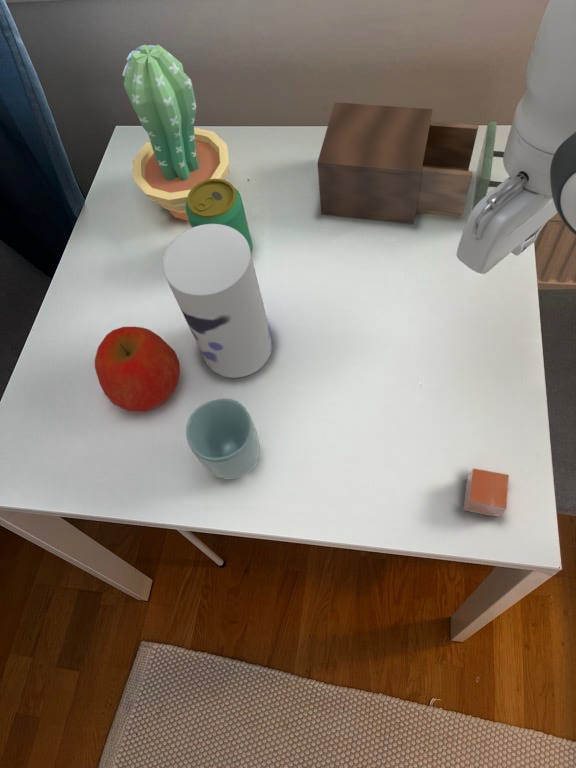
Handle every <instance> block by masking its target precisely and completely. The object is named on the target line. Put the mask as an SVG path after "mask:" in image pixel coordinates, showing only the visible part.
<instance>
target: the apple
mask: <svg viewBox="0 0 576 768" xmlns="http://www.w3.org/2000/svg"><path fill="white" fill-rule="evenodd" d="M180 364H181V363H180V360H179V358H178V355H177V352H176V351H175V349H173V348H172V347H171V346H170V344H169V343H167V342H166V341H165V340H164V339H163V338H162V337H161V336H160V335H159V334H157V333H155V332H154V331H152V330H151V329H148V328H145V327H142V326H121V327H119V328H115V329H112V330H111V331H109V332H108V333H107V334H106V335H105V336H104V338H103V339H102V341H101V342H100V344H99V345H98V346H97V350H96V354H95V358H94V369H95V373H96V377H97V379H98V383H99V385H100V388H101V390H102V392H103V394H104V396H106V398H108V400H109V401H110V402H111V403H112V404H113V405H114V406H117V407H119V408H120V409H123V410H125V411H128V412H135V413H136V412H139V413H145V412H148V411H151V410H154V409H156V408H158V407H161V406H162V405H163V404H164V403H166V401H167V400H168V399H169V398H170V397H171V396H172V395H173V394H174V393H175V391H176V389H177V388H178V387H177V386H178V383H179V382H178V381H179V377H180V373H181V366H180Z"/></svg>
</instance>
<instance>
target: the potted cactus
mask: <svg viewBox="0 0 576 768" xmlns="http://www.w3.org/2000/svg"><path fill="white" fill-rule="evenodd" d="M125 60H126V61H127V62H126V64H125V66H124V68H123V71H122V77H124V81H123V87H124V89H125V93H126V94H127V96H128V99H129V101H130V103H131V105H132V107H133V110H134V113H136V115H137V118H138V120H139V122H140V124H141V127H142V128H143V129H144V131H145V132H146V134H147V136H148V139H149V140H148V141H147V142H145V143H144V144H143V146H142V147H141V149H140V150H139V152H138V153H137V154H136V156H135V157H134V159H133V160H132V180H133V181H134V183H135V184H136V185H137V187H138V188H139V189H140V190H141V192H143V193H144V194H145V196H147V197H148V199H149V200H150V201H154V202H156V203H158V204H159V205H160V206H161V207H162V208H163V209H166V210H168V211H169V212H170V214H171V215H172V216H173V217H174V218H176V219H180V220H184V221H186V222H187V221H188V222H189V219H188V216H187V214H186V209H185V207H186V202H187V197H188V194H189V192H190V191H191V189H192V188H193V187H194V186H195V185H197V184H198V183H200V182H202V181H205V180H208V179H222V180H225V178H226V176H227V175H228V173H229V172H230V159H229V151H228V150H229V148H228V147H229V146H228V144H227V143H226V142H225V141H224V140H223V139H222V138H221V137H220V136H219V135H217V134H216V132H215V131H213V130H208V129H204V128H199V127H195V120H196V115H197V109H198V108H197V102H196V97H195V91H194V87H193V81H192V79H191V78H190V77H189V76H188V74H186V73H185V70H184V66H183V63H181V62H180V61H179V59H177V58H176V57H175V56H174V55H172V54H171V53H170V52H169V51H167V49H165V48H164V47H162V46H161V45H160V44H157V43H156V44H155V45H153V44H149V45H147V44H142V45H140V46H137V47H136V48H135V50H132V51H131V52H129V54H128V56H127V57H126V59H125Z"/></svg>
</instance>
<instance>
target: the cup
mask: <svg viewBox="0 0 576 768" xmlns="http://www.w3.org/2000/svg"><path fill="white" fill-rule="evenodd" d="M185 435H186V440H187V444H188V447H189V448H190V450H191V452H192V454H193V455H194V456H195V459H197V461H198V462H199V463H200V464H201V465H202V467H203V468H204V469H205V470H206V471H207V472H209V473H210V474H211V475H212V476H214V477H216V478H219V479H222V480H223V479H224V480H234V479H239V478H241V477H245V476H246V475H248V474H249V473H251V471H253V470H254V468H255V467H256V466H257V464H258V461H259V458H260V451H261V449H260V448H261V446H260V440H259V439H260V438H259V435H258V432H257V429H256V426H255V424H254V421H253V418H252V416H251V415H250V412H249V411H248V409H247V408H246V407H245V406H244V405H243V404H242V403H241V402H239V401H238V400H235V399H232V398H226V397H224V398H223V397H222V398H215V399H210V400H208V401H206V402H203V403H202V404H200V405H199V406H197V407H196V408H195V409H194V410H193V411H192V413H190V415H189V417H188V419H187V421H186V429H185Z"/></svg>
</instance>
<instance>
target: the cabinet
mask: <svg viewBox="0 0 576 768" xmlns="http://www.w3.org/2000/svg"><path fill="white" fill-rule="evenodd" d="M432 116H433V108H424V107H408V106H395V105H381V104H380V105H379V104H365V103H353V102H351V103H350V102H338V101H334V103H333V106H332V110H331V114H330V117H329V120H328V124H327V127H326V131H325V135H324V138H323V141H322V145H321V148H320V151H319V155H318V159H317V162H316V163H317V176H318V189H319V203H320V215H321V216H329V217H331V216H332V217H340V218H348V219H358V220H368V221H377V222H385V223H393V224H394V223H396V224H405V225H415V222H416V216H417V213H416V208H417V201H418V193H419V186H420V179H421V171H422V166H423V160H424V155H425V149H426V144H427V138H428V133H429V127H430V122H432V118H433V117H432Z"/></svg>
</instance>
